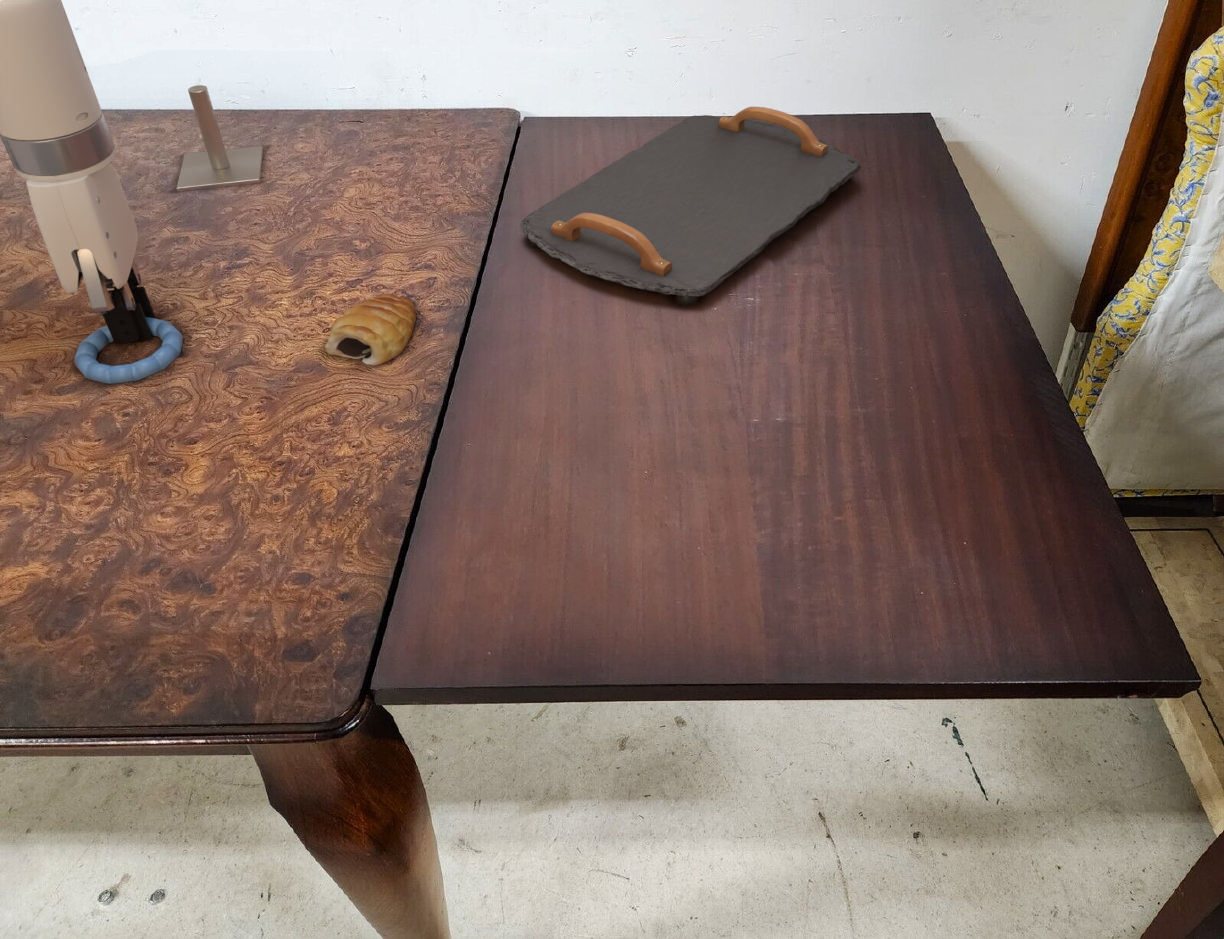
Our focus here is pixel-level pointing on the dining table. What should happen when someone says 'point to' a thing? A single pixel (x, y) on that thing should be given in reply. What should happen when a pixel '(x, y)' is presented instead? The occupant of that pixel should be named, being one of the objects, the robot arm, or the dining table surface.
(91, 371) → the ring
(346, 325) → the pastry
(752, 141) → the serving tray
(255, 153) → the peg on square base
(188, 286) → the dining table surface
